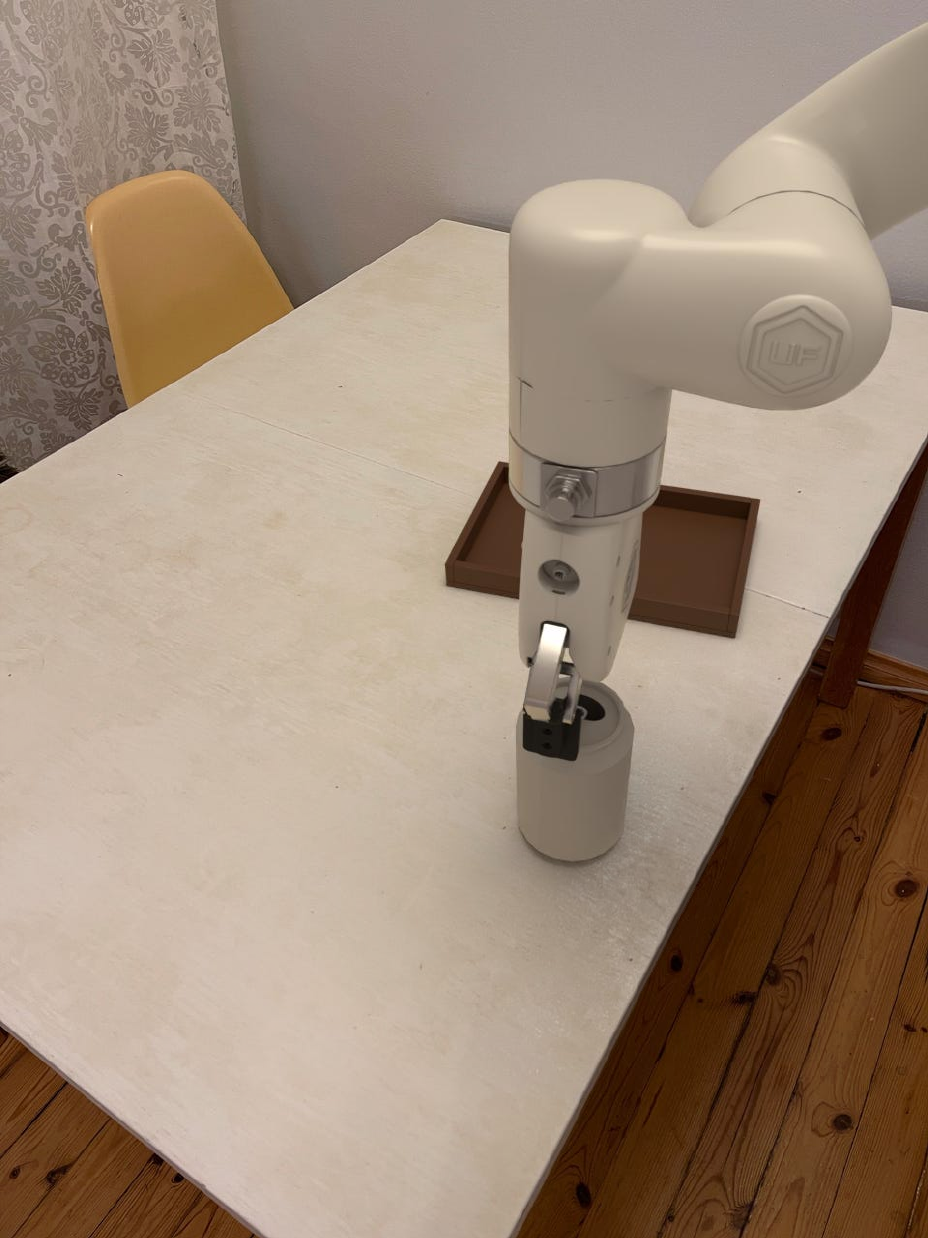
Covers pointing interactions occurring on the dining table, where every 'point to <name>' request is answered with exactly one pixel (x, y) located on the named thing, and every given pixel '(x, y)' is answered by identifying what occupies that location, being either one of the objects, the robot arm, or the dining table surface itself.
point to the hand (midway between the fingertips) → (570, 692)
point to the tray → (668, 564)
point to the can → (578, 780)
